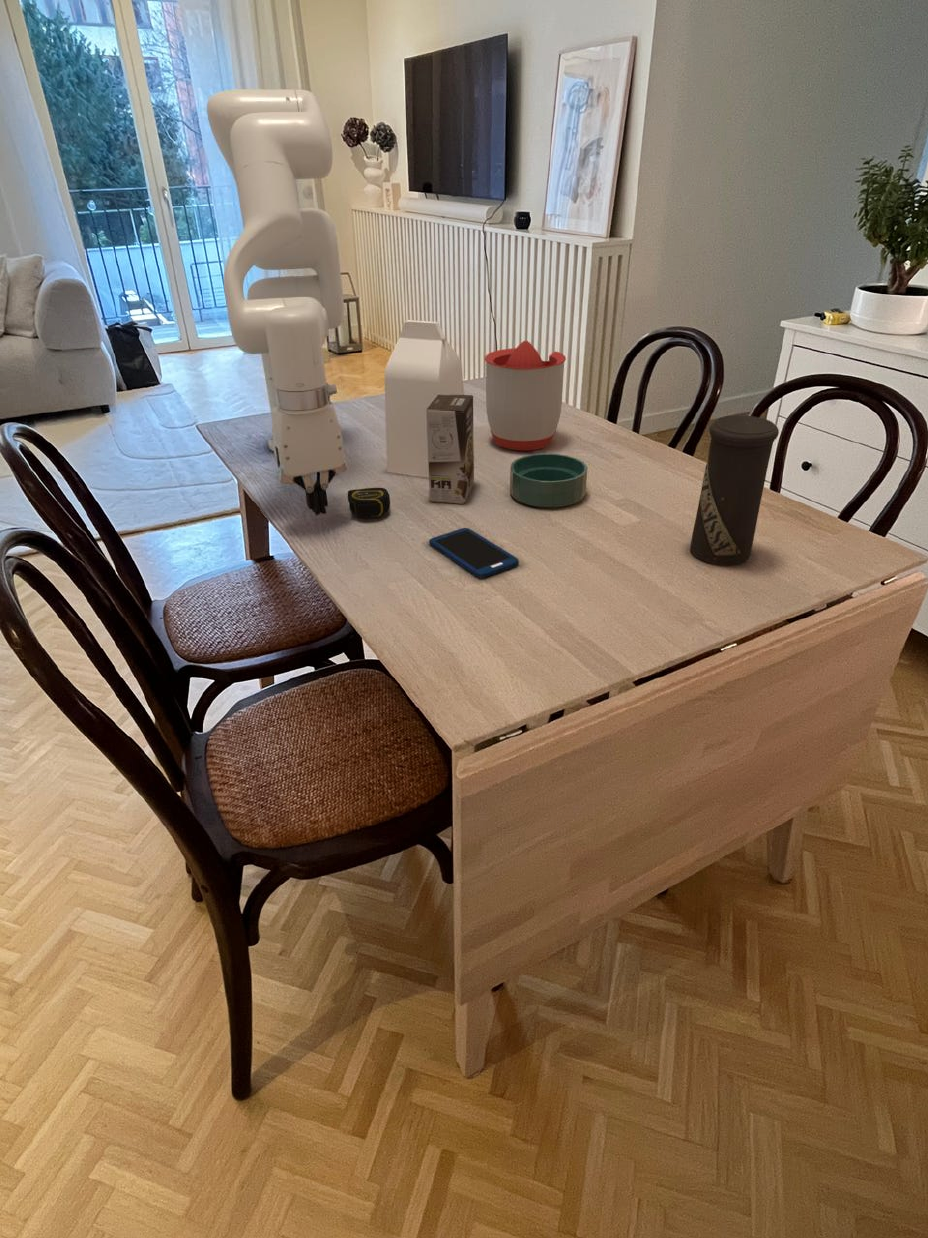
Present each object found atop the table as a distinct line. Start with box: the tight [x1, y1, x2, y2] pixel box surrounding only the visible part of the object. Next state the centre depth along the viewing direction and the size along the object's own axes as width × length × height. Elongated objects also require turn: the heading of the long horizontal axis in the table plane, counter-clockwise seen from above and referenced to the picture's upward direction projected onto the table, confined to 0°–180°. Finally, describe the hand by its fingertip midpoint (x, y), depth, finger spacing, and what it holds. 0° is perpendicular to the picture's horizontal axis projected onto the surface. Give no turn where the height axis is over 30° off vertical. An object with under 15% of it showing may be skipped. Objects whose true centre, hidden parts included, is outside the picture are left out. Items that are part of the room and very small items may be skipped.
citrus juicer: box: [484, 340, 567, 452], centre depth 144 cm, size 16×17×20 cm
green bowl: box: [509, 453, 588, 508], centre depth 125 cm, size 13×13×5 cm
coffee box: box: [426, 394, 475, 505], centre depth 124 cm, size 9×6×16 cm
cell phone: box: [428, 527, 520, 579], centre depth 108 cm, size 7×14×1 cm, turn 35°
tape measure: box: [347, 487, 391, 519], centre depth 120 cm, size 7×7×4 cm
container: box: [689, 414, 780, 566], centre depth 102 cm, size 9×9×20 cm
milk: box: [384, 319, 465, 479], centre depth 132 cm, size 12×12×26 cm
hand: (318, 511), depth 117 cm, fingers closed
